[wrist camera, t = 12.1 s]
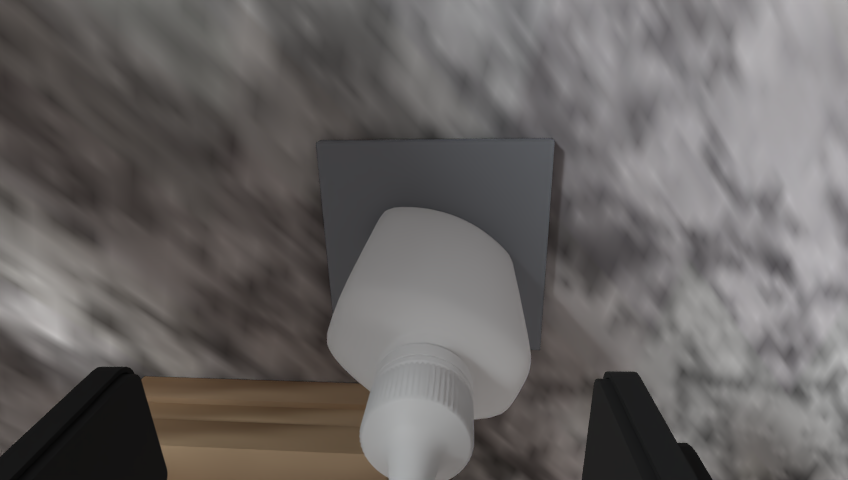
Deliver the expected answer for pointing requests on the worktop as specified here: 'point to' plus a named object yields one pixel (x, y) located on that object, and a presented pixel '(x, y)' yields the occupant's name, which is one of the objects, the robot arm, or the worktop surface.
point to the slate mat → (442, 199)
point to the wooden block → (259, 429)
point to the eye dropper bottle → (429, 340)
